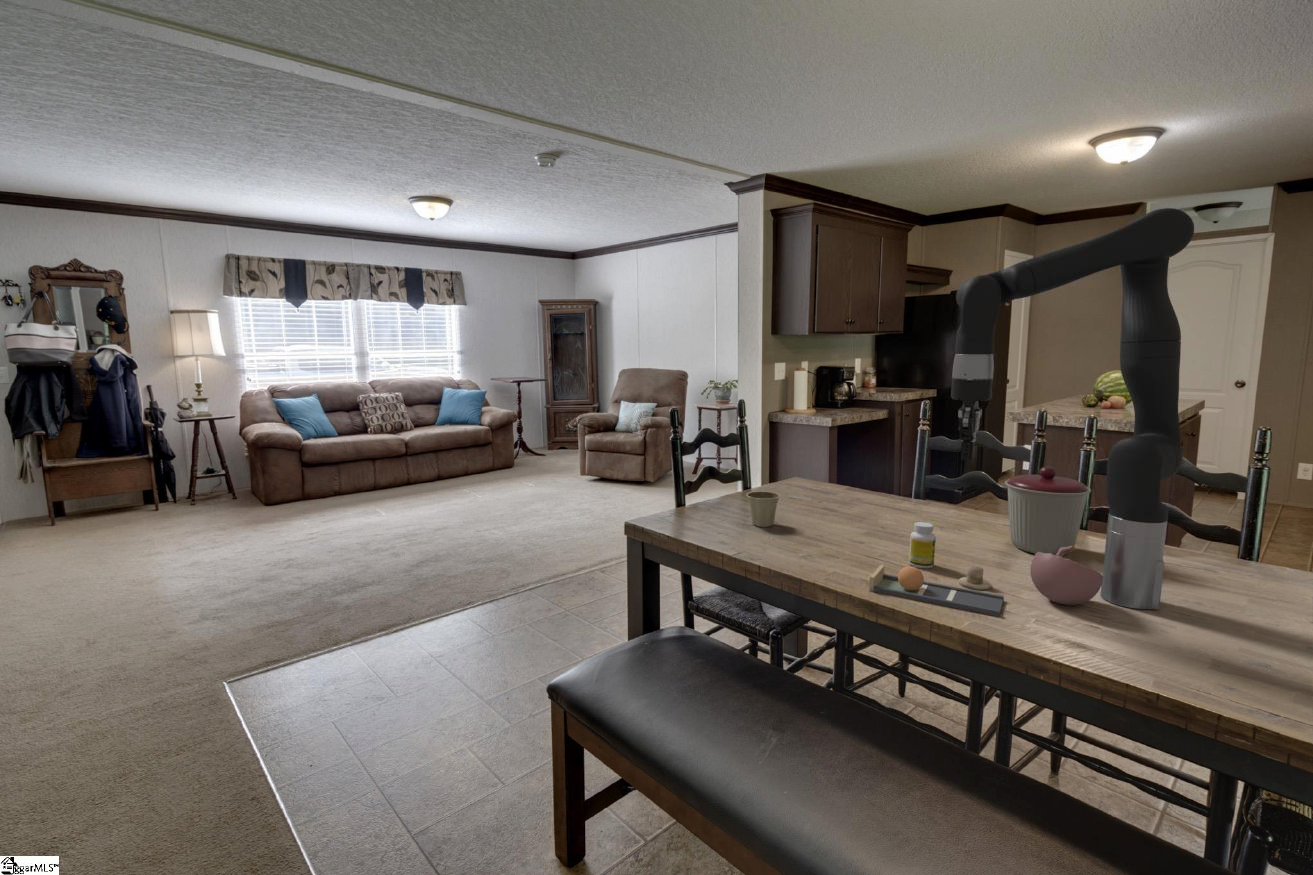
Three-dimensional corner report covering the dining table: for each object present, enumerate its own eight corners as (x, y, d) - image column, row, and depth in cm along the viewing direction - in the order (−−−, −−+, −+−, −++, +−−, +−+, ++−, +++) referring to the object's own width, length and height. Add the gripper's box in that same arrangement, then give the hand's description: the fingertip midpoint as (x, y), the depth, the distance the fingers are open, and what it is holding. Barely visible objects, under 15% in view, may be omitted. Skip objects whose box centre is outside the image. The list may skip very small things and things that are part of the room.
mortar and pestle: (1111, 606, 125) (1117, 550, 123) (1078, 619, 119) (1084, 560, 117) (1049, 587, 135) (1053, 534, 133) (1015, 598, 129) (1019, 543, 128)
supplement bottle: (936, 569, 145) (938, 528, 144) (911, 568, 147) (913, 526, 145) (931, 562, 151) (933, 521, 149) (906, 560, 152) (909, 520, 150)
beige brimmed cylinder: (991, 583, 137) (992, 567, 137) (988, 592, 132) (989, 575, 132) (961, 577, 140) (962, 561, 140) (956, 586, 136) (958, 569, 135)
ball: (896, 576, 137) (917, 591, 135) (890, 583, 133) (912, 598, 130) (908, 558, 135) (930, 573, 133) (903, 565, 131) (925, 580, 129)
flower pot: (740, 521, 186) (741, 492, 185) (769, 518, 189) (770, 490, 187) (754, 530, 177) (755, 499, 176) (785, 527, 180) (786, 497, 179)
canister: (1065, 567, 147) (1073, 477, 144) (986, 547, 162) (992, 465, 158) (1097, 552, 158) (1105, 468, 155) (1020, 534, 172) (1026, 457, 169)
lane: (1003, 600, 128) (1004, 586, 127) (999, 616, 120) (1000, 601, 120) (880, 577, 141) (880, 564, 140) (869, 590, 133) (869, 576, 133)
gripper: (957, 374, 138) (952, 453, 141) (947, 377, 127) (941, 463, 130) (996, 375, 134) (990, 456, 137) (989, 378, 123) (983, 466, 126)
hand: (966, 459), depth 133 cm, fingers closed
